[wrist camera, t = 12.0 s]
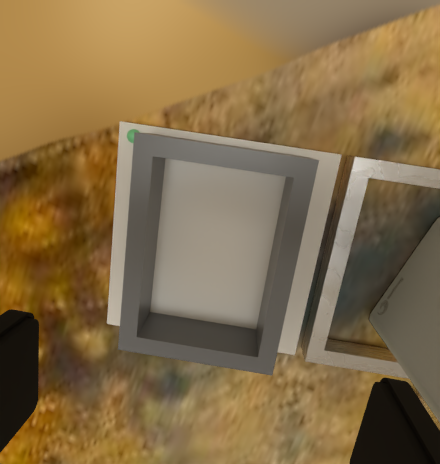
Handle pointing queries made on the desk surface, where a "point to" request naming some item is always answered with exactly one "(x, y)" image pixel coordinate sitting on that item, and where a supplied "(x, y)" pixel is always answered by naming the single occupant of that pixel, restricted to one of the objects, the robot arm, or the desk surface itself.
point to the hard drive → (415, 318)
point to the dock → (214, 245)
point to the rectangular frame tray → (336, 259)
